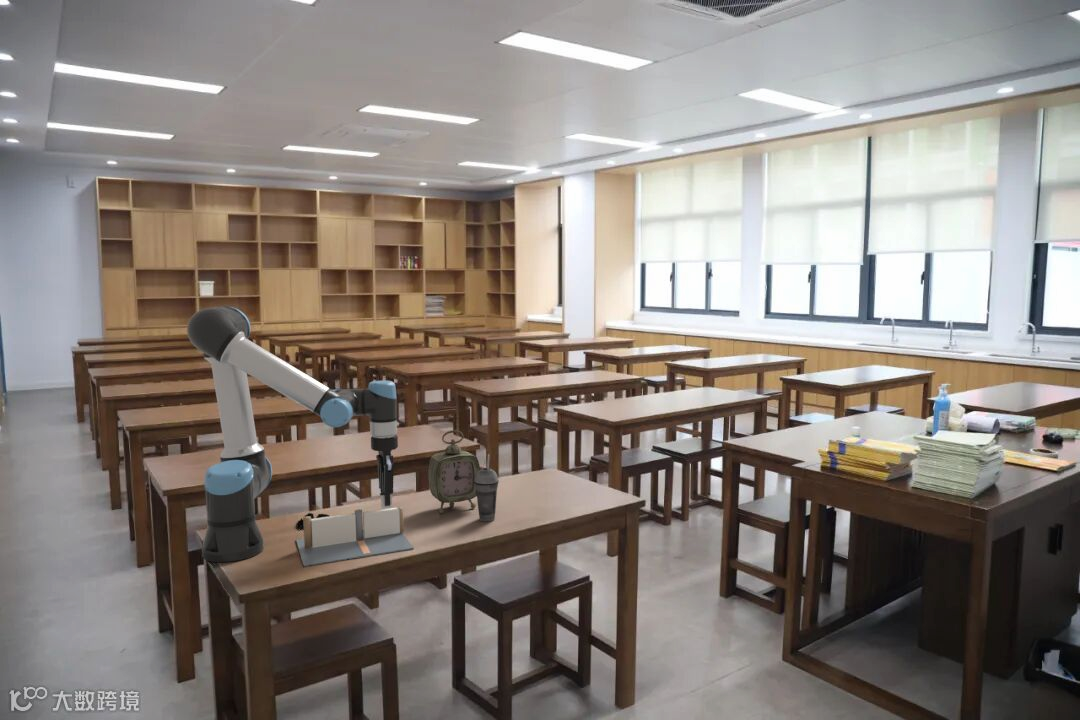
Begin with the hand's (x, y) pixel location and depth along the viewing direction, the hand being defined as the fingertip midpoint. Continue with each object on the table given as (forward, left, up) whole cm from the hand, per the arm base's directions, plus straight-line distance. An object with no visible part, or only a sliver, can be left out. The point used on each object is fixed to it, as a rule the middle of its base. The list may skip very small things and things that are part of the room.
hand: (387, 515), depth 209 cm
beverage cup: (+29, -4, -4) cm, 30 cm away
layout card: (-11, -9, -4) cm, 15 cm away
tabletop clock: (+23, +10, -4) cm, 25 cm away
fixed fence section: (-16, -6, -4) cm, 18 cm away
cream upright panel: (-2, -6, -3) cm, 7 cm away
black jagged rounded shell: (-19, +14, -5) cm, 24 cm away
